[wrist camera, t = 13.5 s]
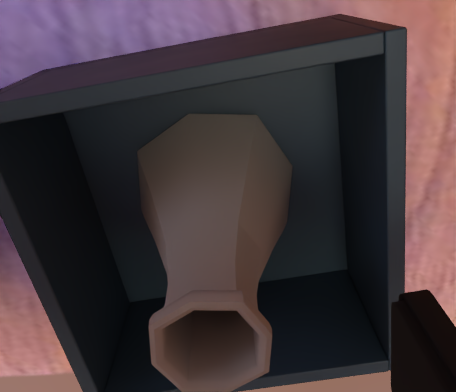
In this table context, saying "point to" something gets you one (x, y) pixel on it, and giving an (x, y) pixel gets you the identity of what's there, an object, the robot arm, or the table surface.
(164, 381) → the tub
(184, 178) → the flask
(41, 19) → the table surface
